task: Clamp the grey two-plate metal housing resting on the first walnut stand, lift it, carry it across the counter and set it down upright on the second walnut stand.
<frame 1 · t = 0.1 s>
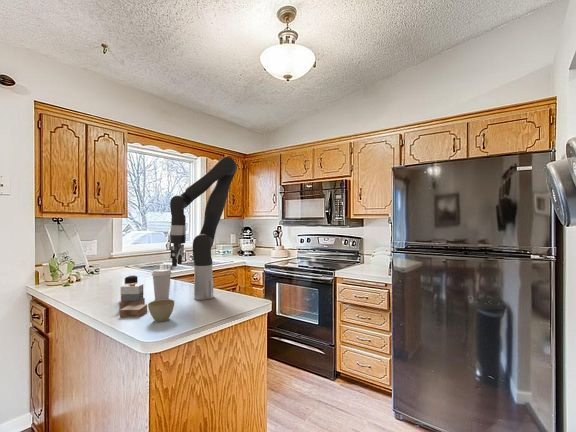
hand: (177, 265, 161), 17 cm above the countertop, tool pointing down, fingers open, 8 cm apart
stand a: (132, 306, 147), on the countertop
housing: (132, 300, 147), point 3 cm above the countertop, touching stand a
coffee cup: (161, 299, 160), on the countertop
beige round bowl: (161, 320, 127), on the countertop
stand b: (134, 314, 135), on the countertop
medicine bottle: (131, 299, 160), on the countertop
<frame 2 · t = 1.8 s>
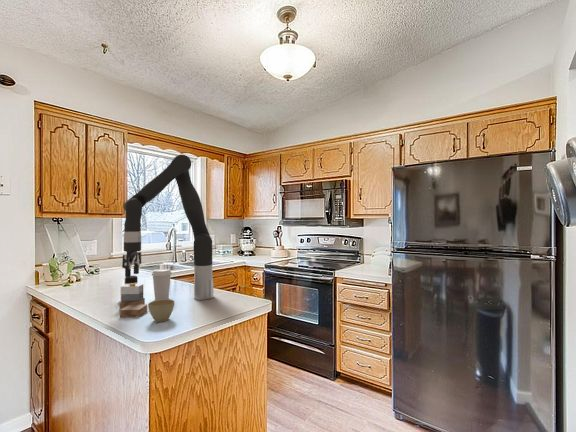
hand: (132, 275, 147), 15 cm above the countertop, tool pointing down, fingers open, 8 cm apart
nothing on the countertop moved.
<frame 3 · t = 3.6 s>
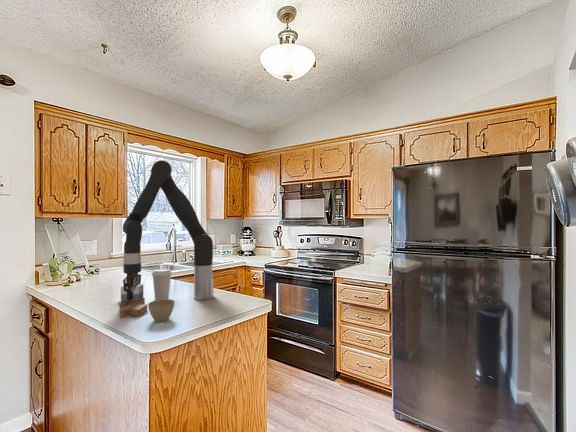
hand: (132, 298, 147), 4 cm above the countertop, tool pointing down, fingers closed on housing, 5 cm apart
housing: (132, 300, 147), point 3 cm above the countertop, touching gripper, stand a
everything else where it was.
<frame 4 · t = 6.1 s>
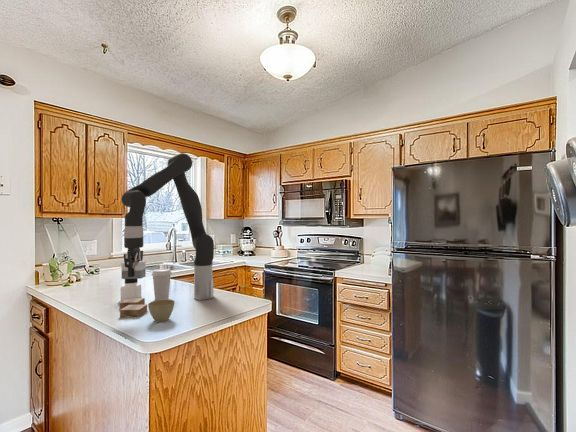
hand: (134, 275, 135), 17 cm above the countertop, tool pointing down, fingers closed on housing, 5 cm apart
housing: (133, 277, 135), point 16 cm above the countertop, touching gripper
everything else where it was.
when the fingers open (5 cm above the countertop, at t = 8.9 s): housing drops 1 cm, resting on stand b.
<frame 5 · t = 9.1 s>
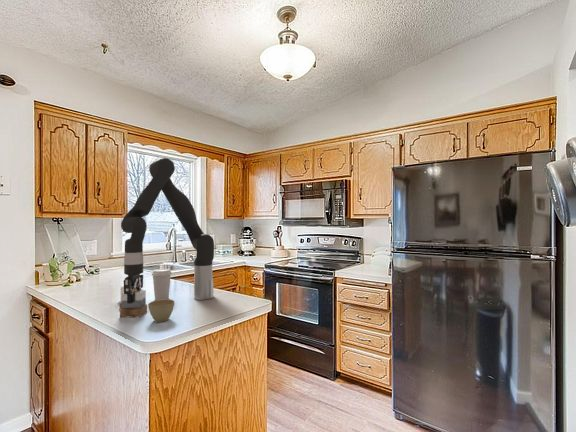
hand: (133, 300, 135), 6 cm above the countertop, tool pointing down, fingers open, 6 cm apart
housing: (133, 307, 135), point 3 cm above the countertop, touching stand b
everything else where it was.
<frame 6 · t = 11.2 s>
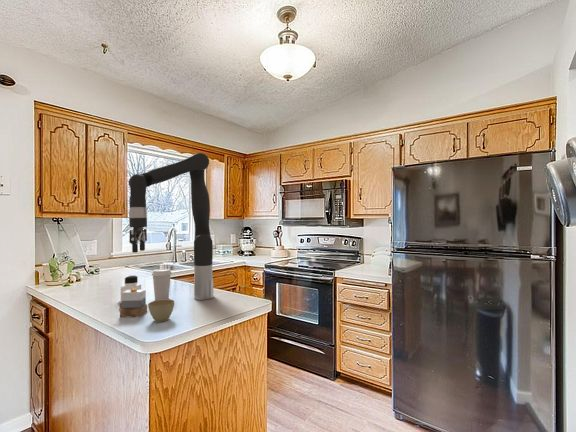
hand: (138, 251, 146), 26 cm above the countertop, tool pointing down, fingers open, 8 cm apart
nothing on the countertop moved.
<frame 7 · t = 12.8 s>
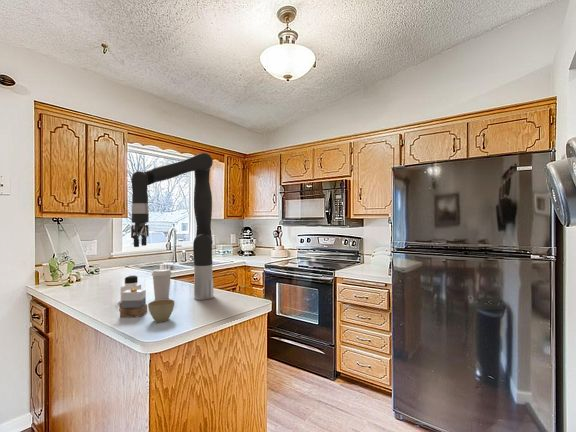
hand: (140, 246, 151), 28 cm above the countertop, tool pointing down, fingers open, 8 cm apart
nothing on the countertop moved.
at the end: housing inside the target area on the stand b (0.0 cm from its centre), point 3.0 cm above the stand b's base; housing tilted 0°; the gripper is holding nothing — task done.
